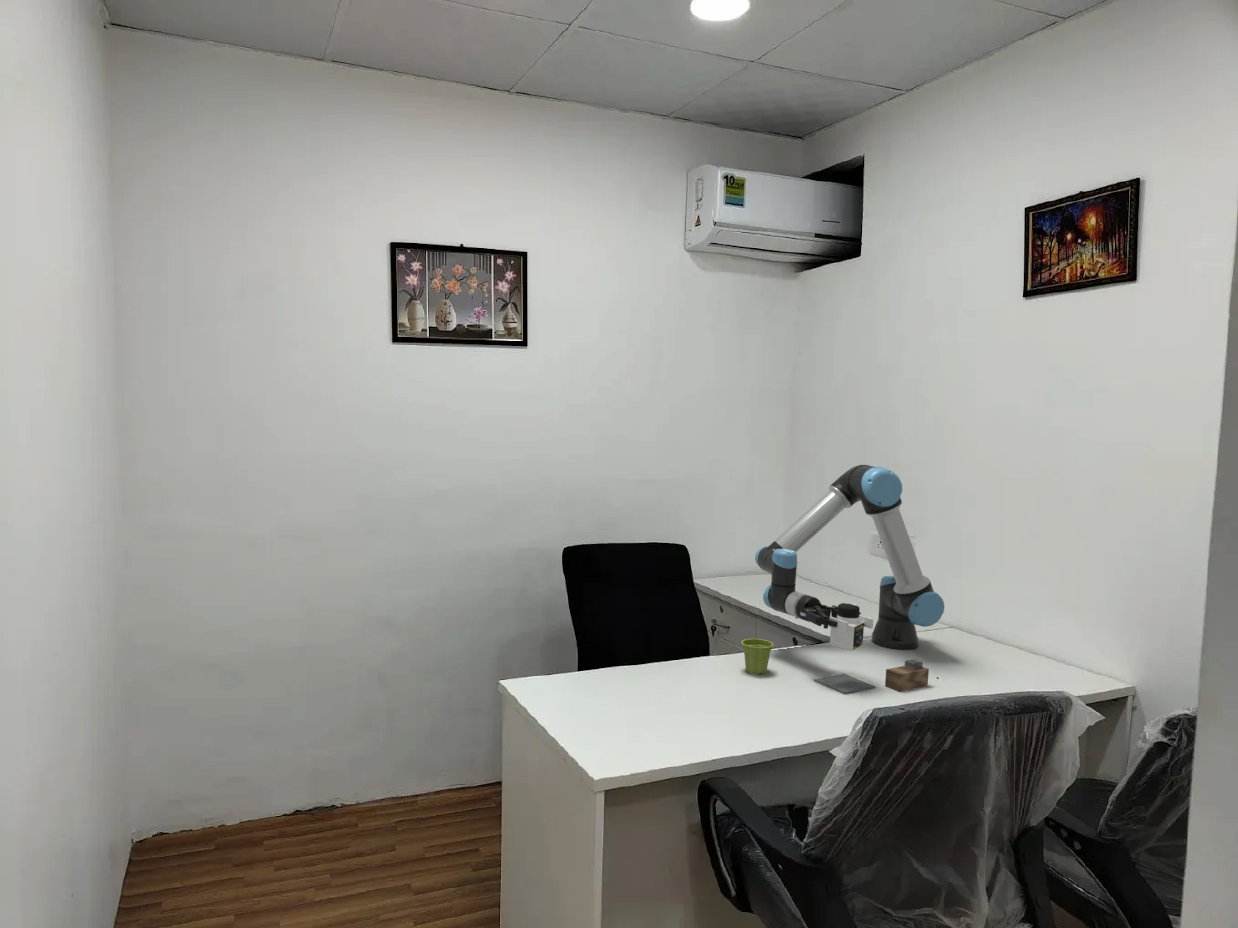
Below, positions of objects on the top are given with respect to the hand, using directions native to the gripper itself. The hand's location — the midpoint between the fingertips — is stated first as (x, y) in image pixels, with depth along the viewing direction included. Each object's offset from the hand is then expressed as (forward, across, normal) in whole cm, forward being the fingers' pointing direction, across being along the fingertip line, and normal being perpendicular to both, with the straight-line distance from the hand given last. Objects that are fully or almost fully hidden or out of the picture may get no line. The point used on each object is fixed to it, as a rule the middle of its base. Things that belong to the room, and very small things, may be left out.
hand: (859, 625), depth 235 cm
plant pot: (-24, +16, -19) cm, 35 cm away
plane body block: (+4, -16, -18) cm, 25 cm away
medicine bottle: (-5, 0, -7) cm, 8 cm away
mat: (-4, 0, -18) cm, 19 cm away
